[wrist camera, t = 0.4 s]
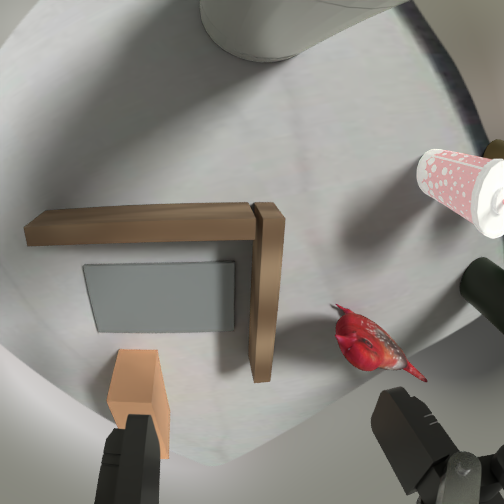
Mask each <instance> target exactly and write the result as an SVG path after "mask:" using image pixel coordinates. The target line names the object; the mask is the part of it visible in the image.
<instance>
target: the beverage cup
mask: <svg viewBox="0 0 504 504" xmlns="http://www.w3.org/2000/svg"><path fill="white" fill-rule="evenodd" d="M417 182H418V185H419V187H420V189H421V190H422V191H423V192H424V193H425V194H427V195H428V196H430V197H432V198H433V199H435V200H437V201H438V202H440V203H442V204H443V205H445V206H446V207H448V208H450V209H451V210H453V211H454V212H456V213H457V214H459V215H460V216H462V217H464V218H465V219H467V220H468V221H470V222H471V223H473V224H474V225H475V227H476V228H477V230H478V231H479V232H482V234H483V235H485V236H487V237H490V238H492V239H494V238H497V237H501V236H502V235H504V160H503V159H493V160H492V159H487V158H483V157H478V156H473V155H468V154H463V153H458V152H453V151H447V150H441V149H431V150H429V151H427V152H426V153H424V155H423V156H422V158H421V159H420V160H419V164H418V167H417Z"/></svg>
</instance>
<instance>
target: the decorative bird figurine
mask: <svg viewBox="0 0 504 504" xmlns="http://www.w3.org/2000/svg"><path fill="white" fill-rule="evenodd" d="M336 305H337V304H336ZM337 306H338V307H339V308H340V309H342V310H343V311H344V313H345V315H343V316H342V317H341V318H340V319H339V320H338V321H337V324H336V335H335V337H336V339H337V341H338V345H339V347H340V349H341V351H342V353H343V355H344V356H345V358H346V359H347V360H348V361H349V362H350V363H351V364H352V365H353V366H354V367H356V368H358V369H360V370H363V371H373V370H375V369H376V368H382V369H386V370H401V369H404V370H406V371H407V372H409V373H411V374H412V375H414V376H415V377H417V378H419V379H420V380H422V381H424V382H427V379H426V378H425V377H424V376H423V375H422V374H421V373H420V372H419V371H418V370H417V369H416V368H414V366H412V365H411V364H410V362H409V361H408V360H407V358H406V356H405V354H404V353H403V351H402V350H401V348H400V347H399V346H398V345H397V344H396V342H395V341H394V340H393V339H392V338H391V337H390V336H389V335H388V334H387V333H386V332H385V331H384V330H383V329H382V328H381V327H380V326H379V325H377V324H376V323H374V322H373V321H371V320H370V319H368V318H366V317H364V316H362V315H359V314H355V313H354V312H352V311H351V310H349V309H345V308H343V307H341V306H339V305H337Z"/></svg>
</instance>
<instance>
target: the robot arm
mask: <svg viewBox="0 0 504 504" xmlns="http://www.w3.org/2000/svg"><path fill="white" fill-rule="evenodd" d="M408 1H410V0H200V14H201V20H202V23H203V25H204V27H205V30H206V32H207V33H208V34H209V36H210V37H211V38H212V40H213V41H214V42H215V43H216V44H217V45H219V46H220V47H221V48H222V49H223V50H225V51H227V52H229V53H230V54H232V55H234V56H236V57H239V58H242V59H245V60H248V61H255V62H277V61H281V60H286V59H289V58H291V57H293V56H296V55H298V54H300V53H301V52H303V51H305V50H307V49H309V48H310V47H312V46H314V45H316V44H318V43H320V42H322V41H324V40H326V39H327V38H329V37H331V36H333V35H335V34H337V33H339V32H341V31H343V30H345V29H347V28H349V27H351V26H353V25H355V24H357V23H359V22H361V21H364V20H366V19H368V18H370V17H372V16H375V15H377V14H379V13H381V12H384V11H386V10H388V9H391V8H393V7H395V6H398V5H400V4H403V3H405V2H408ZM371 428H372V431H373V433H374V435H375V437H376V439H377V440H378V442H379V444H380V446H381V448H382V450H383V451H384V453H385V455H386V457H387V459H388V461H389V463H390V464H391V466H392V468H393V470H394V472H395V474H396V476H397V477H398V480H399V482H400V483H401V485H402V487H403V489H404V491H405V493H406V495H410V494H412V493H414V492H418V493H419V495H420V496H419V497H418V499H417V502H416V504H504V499H503V498H502V496H501V494H500V492H499V491H500V490H501V489H502V488H503V489H504V445H503V446H501V447H500V448H499V450H498V451H497V452H496V453H495V454H492V455H487V456H481V457H476V456H475V455H474V454H472V453H470V452H466V451H459V450H458V449H457V447H456V446H455V444H454V443H453V442H452V440H451V439H450V437H449V436H448V434H447V433H446V432H445V430H444V429H443V427H442V426H441V425H440V423H438V422H437V419H436V418H435V416H434V415H432V412H431V411H430V410H429V408H428V407H427V406H426V404H425V403H423V402H422V401H420V400H419V399H418V398H416V397H415V396H414V397H410V395H409V394H408V393H407V391H406V390H405V389H404V388H403V387H396V388H392V389H389V390H384V391H382V392H381V394H380V396H379V399H378V401H377V404H376V407H375V410H374V412H373V414H372V417H371ZM101 463H102V466H101V468H100V473H99V479H98V484H97V490H96V497H95V502H94V504H159V478H160V443H159V439H158V436H157V433H156V429H155V426H154V423H153V419H152V416H151V415H144V414H128V416H127V420H126V426H125V429H118V428H117V429H116V428H114V429H113V431H112V433H111V434H110V435H109V436H108V438H107V439H106V442H105V447H104V455H103V457H102V462H101Z"/></svg>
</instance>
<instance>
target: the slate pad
mask: <svg viewBox="0 0 504 504" xmlns="http://www.w3.org/2000/svg"><path fill="white" fill-rule="evenodd" d="M83 268H84V273H85V278H86V283H87V287H88V292H89V296H90V300H91V304H92V308H93V312H94V316H95V320H96V324H97V328H98V331H99V332H110V333H188V332H220V331H234V271H235V263H234V261H215V262H175V263H131V264H85V265H84V266H83Z"/></svg>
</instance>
